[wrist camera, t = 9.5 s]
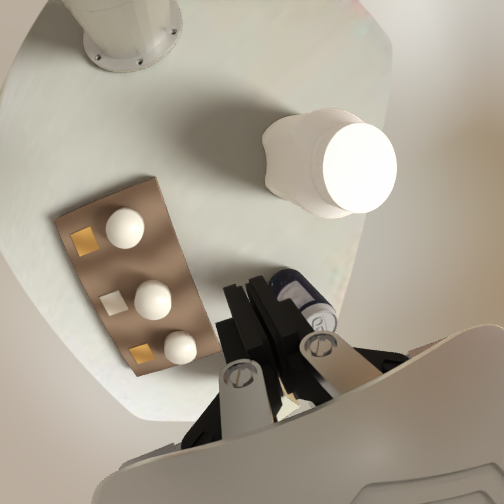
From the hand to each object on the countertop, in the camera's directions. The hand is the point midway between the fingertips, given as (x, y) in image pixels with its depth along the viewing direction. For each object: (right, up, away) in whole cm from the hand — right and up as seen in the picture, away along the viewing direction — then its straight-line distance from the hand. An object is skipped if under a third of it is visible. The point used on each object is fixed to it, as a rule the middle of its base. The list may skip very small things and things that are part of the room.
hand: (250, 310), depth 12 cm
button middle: (-12, -3, +23) cm, 26 cm away
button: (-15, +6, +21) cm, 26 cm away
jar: (+6, +15, +26) cm, 30 cm away
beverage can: (+5, -2, +32) cm, 32 cm away
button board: (-15, -2, +26) cm, 30 cm away
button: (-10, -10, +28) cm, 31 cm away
